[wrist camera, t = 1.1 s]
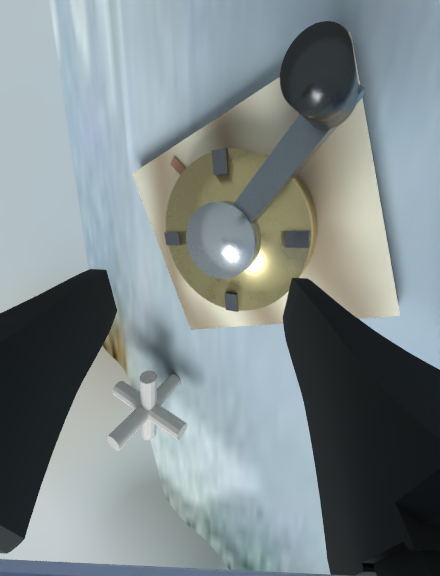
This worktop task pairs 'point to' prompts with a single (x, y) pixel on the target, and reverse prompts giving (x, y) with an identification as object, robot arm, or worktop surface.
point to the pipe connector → (147, 409)
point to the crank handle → (263, 186)
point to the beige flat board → (325, 195)
